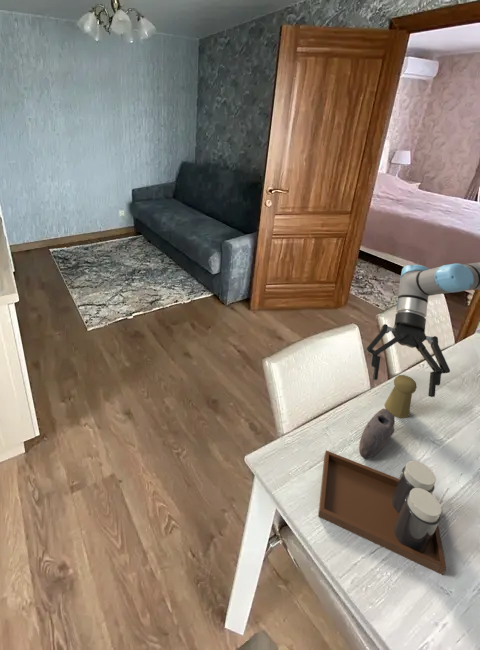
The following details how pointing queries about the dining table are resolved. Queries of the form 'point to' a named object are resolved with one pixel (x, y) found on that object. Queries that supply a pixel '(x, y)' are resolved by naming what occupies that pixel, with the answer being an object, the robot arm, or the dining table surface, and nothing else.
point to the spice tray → (369, 508)
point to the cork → (401, 396)
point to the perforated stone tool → (376, 433)
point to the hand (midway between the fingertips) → (402, 387)
